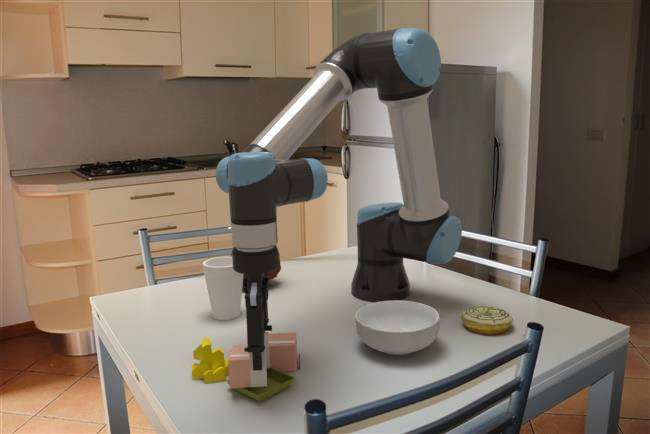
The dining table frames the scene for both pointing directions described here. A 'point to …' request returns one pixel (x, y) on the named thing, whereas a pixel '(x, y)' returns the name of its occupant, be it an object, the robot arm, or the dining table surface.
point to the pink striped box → (283, 351)
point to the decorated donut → (486, 320)
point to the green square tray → (268, 385)
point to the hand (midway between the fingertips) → (260, 376)
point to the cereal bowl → (397, 326)
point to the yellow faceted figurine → (209, 363)
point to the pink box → (239, 367)
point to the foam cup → (223, 287)
